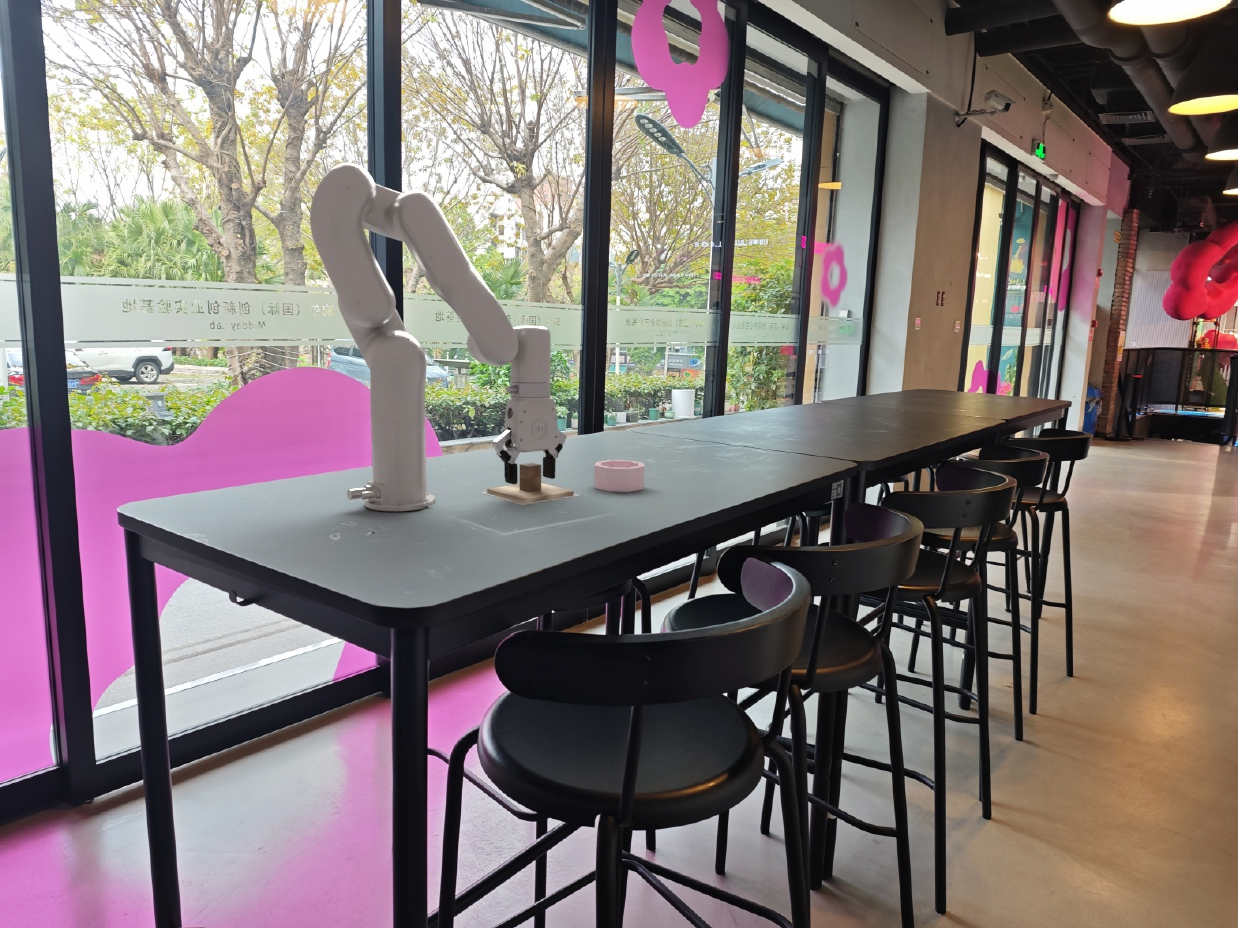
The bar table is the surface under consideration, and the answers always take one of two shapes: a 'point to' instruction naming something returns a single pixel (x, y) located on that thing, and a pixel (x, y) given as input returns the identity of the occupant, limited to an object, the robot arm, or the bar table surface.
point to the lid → (530, 487)
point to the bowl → (619, 475)
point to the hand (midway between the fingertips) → (530, 480)
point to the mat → (529, 502)
